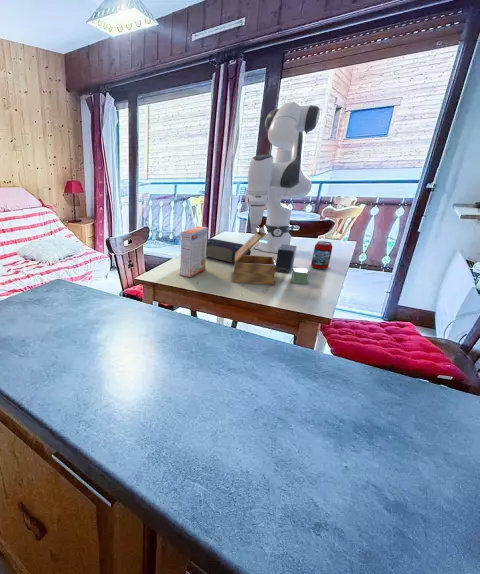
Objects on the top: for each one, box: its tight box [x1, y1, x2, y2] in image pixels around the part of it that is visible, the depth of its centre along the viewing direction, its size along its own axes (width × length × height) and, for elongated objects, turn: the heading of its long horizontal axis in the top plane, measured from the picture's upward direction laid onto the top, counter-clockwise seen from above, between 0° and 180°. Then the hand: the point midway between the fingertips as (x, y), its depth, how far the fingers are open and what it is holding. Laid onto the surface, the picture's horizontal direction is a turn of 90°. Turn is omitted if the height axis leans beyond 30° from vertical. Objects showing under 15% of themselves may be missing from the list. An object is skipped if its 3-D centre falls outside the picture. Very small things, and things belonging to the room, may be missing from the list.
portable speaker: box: [206, 238, 252, 264], centre depth 169 cm, size 25×10×10 cm, turn 36°
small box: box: [275, 244, 297, 273], centre depth 152 cm, size 11×6×10 cm, turn 143°
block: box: [290, 267, 310, 285], centre depth 138 cm, size 5×5×5 cm
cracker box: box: [179, 225, 208, 278], centre depth 152 cm, size 14×6×21 cm, turn 134°
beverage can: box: [310, 240, 333, 270], centre depth 150 cm, size 7×7×12 cm
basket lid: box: [235, 225, 267, 262], centre depth 140 cm, size 17×13×5 cm
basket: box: [232, 254, 276, 286], centre depth 143 cm, size 16×13×9 cm
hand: (253, 231), depth 137 cm, fingers closed on basket lid, 6 cm apart
